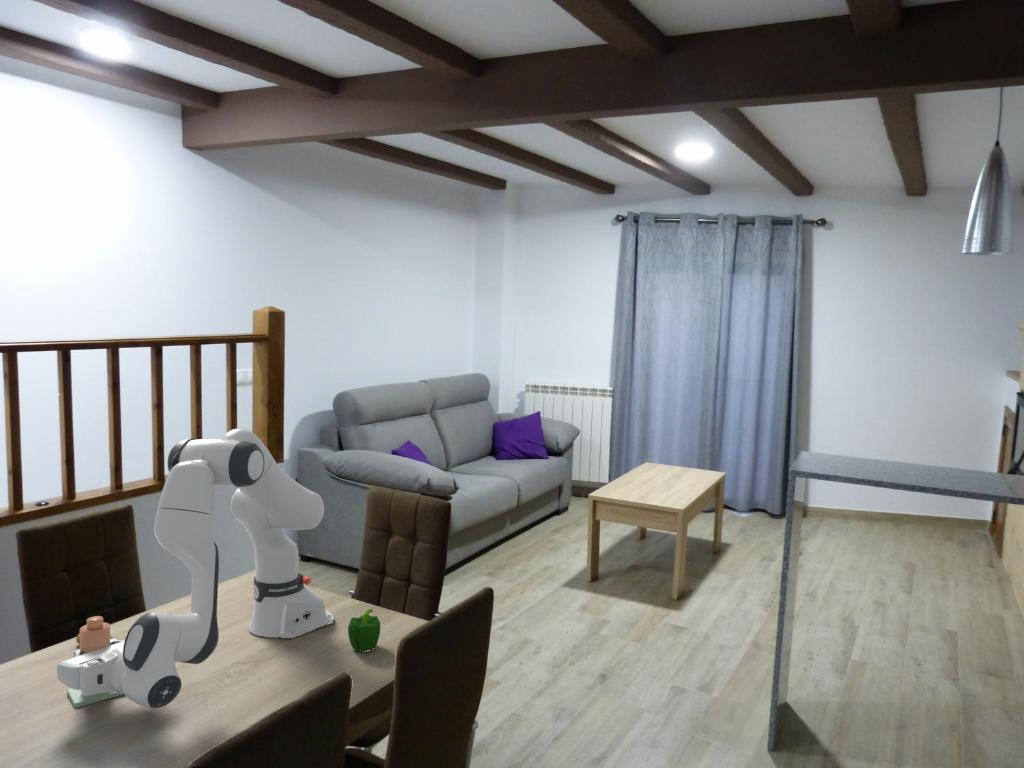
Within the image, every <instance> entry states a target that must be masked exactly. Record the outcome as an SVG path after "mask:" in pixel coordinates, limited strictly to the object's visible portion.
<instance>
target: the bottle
mask: <svg viewBox="0 0 1024 768" xmlns="http://www.w3.org/2000/svg"><path fill="white" fill-rule="evenodd" d="M79 634H80V644H79V646H80V649H81V650H83V651H84V654H85V653H88V652H91V651H94V650H98V649H101V648H104V647H107V646H110V645H111V643H110V634H111V624H110V623H108V622H104V617H103V616H101V615H96V616H91V617H88V618H87V619H86V624H85V625H83V626H81V627H80V628H79ZM80 649H79V650H80Z"/></svg>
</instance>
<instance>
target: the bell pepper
mask: <svg viewBox="0 0 1024 768" xmlns="http://www.w3.org/2000/svg"><path fill="white" fill-rule="evenodd" d="M373 611H374V610H373V609H372V608H368V609H367V610H366V611H365V613H364V614H363V615H360V616H358V617H351V618H350V620H349V623H348V626H347V635H348V638H349V643H350V646H351V647H352V650H354V649H355V650H361V651H367V650H372V649H373V648H375V647H376V648H377V645H378V641H379V638H380V635H381V622H380V620H379V618H378V615H376V616H375V615H373V616H372V615H370V613H373ZM376 648H375V649H376ZM355 650H354V651H355ZM361 651H360V652H361Z"/></svg>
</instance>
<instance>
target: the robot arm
mask: <svg viewBox="0 0 1024 768" xmlns="http://www.w3.org/2000/svg"><path fill="white" fill-rule="evenodd" d="M167 470H168V475H167V477H166V480H165V482H164V485H163V488H162V490H161V491H162V492H161V494H160V497H159V500H158V501H159V502H158V505H157V510H156V515H155V518H154V523H153V525H154V527H153V528H154V531H153V532H154V536H155V538H156V541H157V542H158V543H159V545H160V546H161V547H162V548H163V549H164V550H165V551H166V552H168V553H169V554H170V555H172V556H174V557H175V558H177V559H179V561H181V562H183V563H184V564H185V565H186V566H187V567H188V569H189V571H190V574H191V593H190V594H191V596H190V610H189V613H188V614H177V613H170V612H169V613H167V612H166V613H165V612H146V613H145V614H143V615H141V616H140V617H138V618H137V619H136V620H135V622H134V623H133V624H132V625H131V627H130V628H129V630H128V632H127V634H126V636H125V638H124V639H116V638H114V637H113V639H110V643H111V645H110V646H107V647H104V648H101V649H98V650H94V651H91V652H88V653H85V654H84V651H83V650H81V649H76V650H74V651H73V653H72V657H71V658H67V659H64V660H61V661H59V663H58V664H57V666H56V674H57V675H56V677H57V681H59V682H60V683H61V684H63V685H65V686H66V687H68V688H69V689H70V688H72V689H75V690H81V694H82V695H83V696H91V695H95V694H101V693H109V692H120V693H123V694H124V695H123V696H125V697H126V698H127V699H129V700H130V701H132V702H134V703H135V704H137V705H140V706H141V707H144V708H148V709H160V708H163V707H166V706H167V705H168V704H170V703H171V702H173V701H174V700H175V699H176V698H177V696H178V695H179V694H180V691H181V690H182V684H183V683H182V679H181V677H180V675H179V673H178V671H177V669H176V663H183V664H191V665H192V664H193V665H198V664H201V663H203V662H205V661H206V660H207V659H208V658H209V657H210V656H211V655H212V654H213V653H214V651H215V650H216V648H217V646H218V644H219V637H220V635H219V634H220V633H219V626H218V597H219V596H218V593H219V590H218V589H219V573H220V571H219V569H220V568H219V567H220V564H219V563H220V562H219V561H220V559H219V557H220V556H219V555H220V554H219V553H220V552H219V549H218V545H217V543H216V542H215V541H214V539H213V537H212V531H211V518H212V513H213V508H214V507H213V506H214V500H215V488H216V487H218V488H219V487H220V488H221V487H223V488H225V487H227V488H228V487H236V488H237V489H236V491H235V492H234V493H233V495H232V497H231V499H230V500H231V501H230V512H231V514H232V516H233V517H234V519H236V521H238V522H239V523H240V524H241V525H242V526H243V527H244V529H245V530H246V532H247V534H248V536H249V538H250V540H251V543H252V547H253V549H254V550H253V551H254V563H255V566H254V567H255V576H254V577H253V585H252V586H253V591H252V593H253V599H254V600H253V610H252V615H251V620H250V622H249V626H248V631H249V632H250V633H251V634H252V635H255V636H258V637H262V636H263V637H262V638H278V637H281V639H284V638H292V637H295V636H298V635H300V636H302V635H301V634H303V633H305V632H308V633H310V632H309V631H311V630H313V629H315V628H319V627H321V626H323V625H326V624H328V623H330V622H333V620H334V621H335V618H334V615H333V614H332V612H331V611H329V610H328V609H326V605H325V602H324V599H323V598H322V597H321V595H319V594H318V593H317V592H315V591H313V590H312V589H311V588H309V587H307V586H309V585H311V583H312V578H311V577H308V576H307V575H304V574H302V573H299V548H298V546H297V544H296V543H295V542H294V541H293V540H292V539H291V538H289V537H288V536H287V535H286V534H285V532H284V529H285V530H293V531H304V530H312V529H314V528H317V526H318V525H319V524H321V521H322V519H323V517H324V514H325V505H324V504H325V503H324V501H323V498H322V496H321V495H320V494H319V493H317V492H314V491H313V490H310V489H308V488H307V487H304V486H303V485H301V484H300V483H299V482H297V481H296V480H294V479H293V477H291V476H289V475H288V474H287V473H285V472H284V471H283V469H281V468H280V466H279V464H278V463H277V462H276V460H275V459H274V457H273V455H272V454H271V452H270V450H269V449H268V448H267V446H266V445H265V444H264V443H263V441H262V440H261V439H260V438H259V437H258V436H257V435H256V434H255V433H254V432H252V431H251V430H249V429H247V428H241V427H240V428H234V429H231V430H229V431H227V432H226V433H225V434H223V436H222V437H221V438H201V439H199V438H198V439H197V438H192V437H191V438H186V439H181V440H179V441H178V442H176V443H175V444H174V446H172V448H171V450H170V451H169V454H168V457H167ZM329 617H330V618H329ZM319 629H320V628H319ZM311 632H312V631H311ZM303 635H304V634H303ZM298 637H299V636H298ZM295 638H296V637H295ZM292 639H293V638H292Z"/></svg>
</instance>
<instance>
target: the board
mask: <svg viewBox="0 0 1024 768" xmlns="http://www.w3.org/2000/svg"><path fill="white" fill-rule="evenodd" d="M66 694H67V696H68V698H69V700H70V699H71V700H70V701H72V702H71V704H72V705H73V707H74V709H75V708H79V707H83V706H87V705H90V704H94V702H95V703H97V701H98V702H101V701H100V700H102V701H104V700H105V699H106V700H109V699H112V697H113V698H117V697H120V696H125V695H124V694H123V693H120V692H109V693H101V694H95V695H91V696H83V695H82V694H81V690H75V689H72V688H70V687H69V688H67V689H66ZM119 695H120V696H119ZM116 696H117V697H116ZM108 698H109V699H108Z"/></svg>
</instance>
